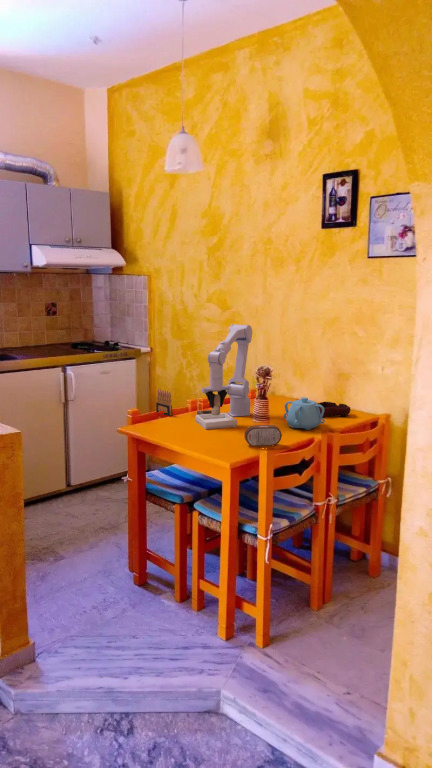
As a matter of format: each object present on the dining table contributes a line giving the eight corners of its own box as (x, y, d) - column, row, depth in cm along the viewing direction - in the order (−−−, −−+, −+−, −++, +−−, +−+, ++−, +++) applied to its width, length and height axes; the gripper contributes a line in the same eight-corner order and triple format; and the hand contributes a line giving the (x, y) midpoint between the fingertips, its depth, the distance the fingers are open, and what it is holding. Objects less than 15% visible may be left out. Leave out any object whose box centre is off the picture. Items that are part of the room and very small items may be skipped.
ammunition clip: (172, 415, 285) (172, 391, 282) (169, 416, 283) (169, 392, 281) (158, 411, 292) (158, 388, 290) (156, 412, 291) (155, 388, 289)
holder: (213, 413, 289) (213, 409, 289) (219, 417, 281) (219, 413, 281) (196, 414, 286) (196, 410, 286) (202, 419, 279) (202, 414, 278)
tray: (225, 419, 279) (225, 412, 278) (237, 426, 265) (237, 420, 264) (195, 421, 274) (195, 415, 274) (205, 429, 260) (205, 422, 260)
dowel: (217, 413, 272) (217, 393, 270) (221, 414, 268) (221, 395, 267) (209, 413, 270) (209, 394, 268) (214, 415, 266) (214, 396, 265)
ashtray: (341, 410, 300) (341, 400, 299) (352, 418, 284) (352, 408, 283) (307, 411, 298) (307, 401, 297) (316, 418, 282) (317, 408, 281)
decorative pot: (281, 423, 273) (282, 394, 270) (314, 421, 275) (315, 393, 273) (291, 432, 257) (292, 402, 254) (326, 431, 260) (327, 401, 257)
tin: (280, 443, 239) (280, 423, 238) (282, 446, 236) (282, 425, 235) (244, 445, 237) (244, 425, 235) (245, 447, 234) (246, 427, 232)
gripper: (225, 375, 273) (225, 403, 275) (198, 377, 265) (198, 406, 268) (233, 377, 267) (233, 406, 269) (205, 380, 259) (205, 409, 262)
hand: (216, 407), depth 268 cm, fingers closed on dowel, 4 cm apart
